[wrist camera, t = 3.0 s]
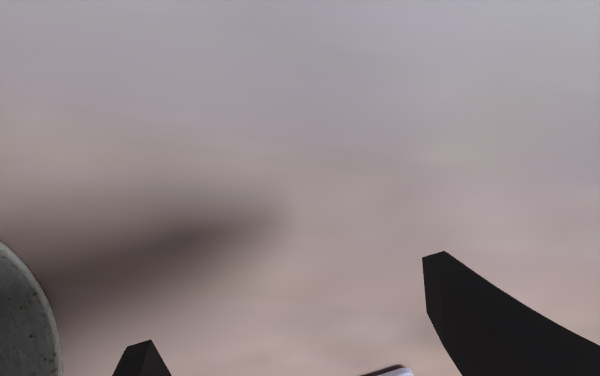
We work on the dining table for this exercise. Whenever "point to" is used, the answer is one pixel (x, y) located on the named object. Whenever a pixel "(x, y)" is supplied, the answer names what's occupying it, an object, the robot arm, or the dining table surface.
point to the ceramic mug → (25, 322)
